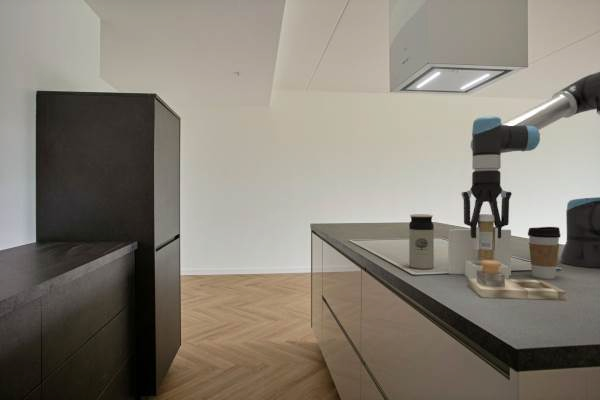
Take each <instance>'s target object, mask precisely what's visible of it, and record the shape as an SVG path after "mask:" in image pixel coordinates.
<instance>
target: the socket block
mask: <svg viewBox="0 0 600 400" xmlns="http://www.w3.org/2000/svg"><path fill="white" fill-rule="evenodd" d="M467 286H468V287H469V288H470V289H471V290H472V291H473V292H475V293H476V295H478V296H479V297H480V298H486V299H487V298H491V299H517V300H518V299H522V300H523V299H525V300H551V301H554V300H556V301H558V300H559V301H566V297H567V296H566V295H567V294H566V291H565V290H563V289H561V288H559V287H557V286H555V285H553V284H550V283H549V282H546V281H544V280H543V279H517V278H516V279H515V278H514V279H513V278H509V279H505V275H504V274H503V273H501V272H499V274H485V273H483V272H482V270H477V279H476V278H468V277H467Z"/></svg>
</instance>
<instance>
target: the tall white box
mask: <svg viewBox="0 0 600 400" xmlns="http://www.w3.org/2000/svg"><path fill="white" fill-rule="evenodd" d="M447 245H448V251H447V252H448V272H447V273H448V274H449V275H464V276H465V277H466V278H467V279H468V278H476V279H477V270H482V265H481V261H482V260H479V259H477V257H478V250H476V249H474V238H471V228H468V229H467V228H466V229H465V228H464V229H463V228H460V229H459V228H458V229H457V228H456V229H454V228H453V229H452V228H449V229H448V244H447ZM493 261H499V262H500V267H499V272H501V273H503V274H504V275H505V279H510V276H512V229H501V238H498V250H494V260H493Z"/></svg>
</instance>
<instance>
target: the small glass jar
mask: <svg viewBox="0 0 600 400" xmlns="http://www.w3.org/2000/svg"><path fill="white" fill-rule="evenodd" d="M481 265H482V272H483V273H485V274H499V267H500V262H499V261H493V260H482V261H481Z"/></svg>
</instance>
